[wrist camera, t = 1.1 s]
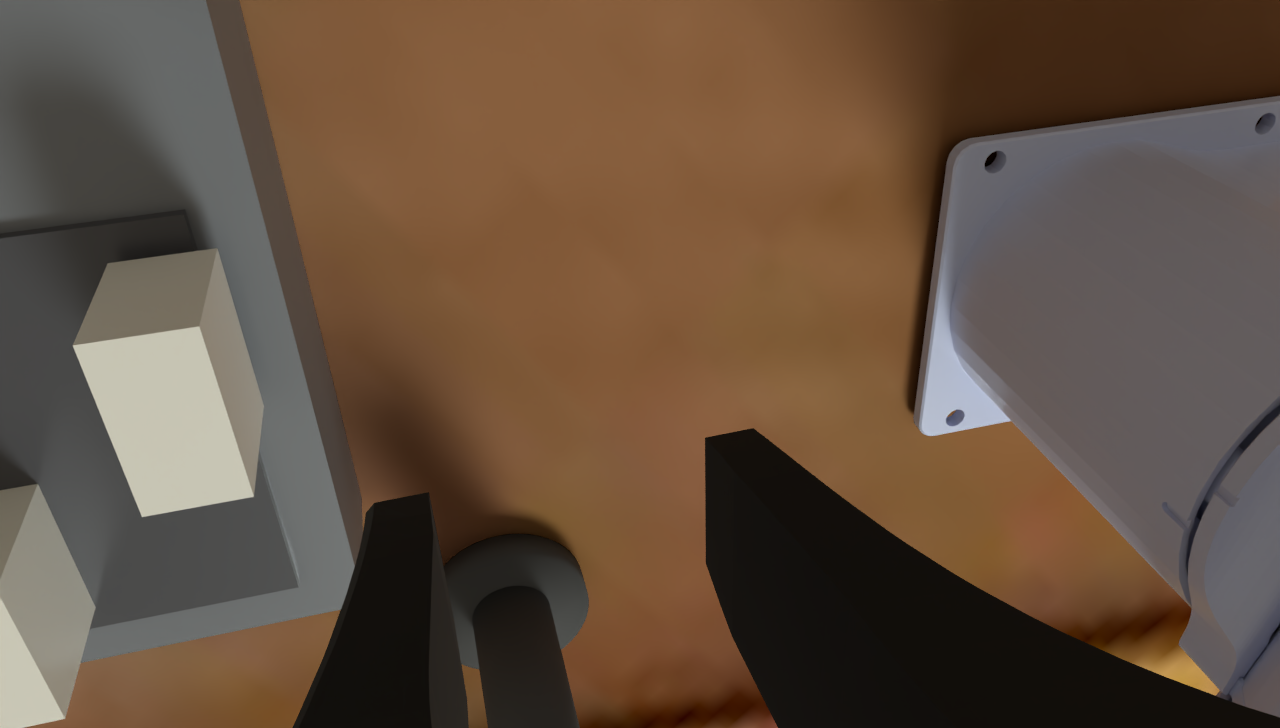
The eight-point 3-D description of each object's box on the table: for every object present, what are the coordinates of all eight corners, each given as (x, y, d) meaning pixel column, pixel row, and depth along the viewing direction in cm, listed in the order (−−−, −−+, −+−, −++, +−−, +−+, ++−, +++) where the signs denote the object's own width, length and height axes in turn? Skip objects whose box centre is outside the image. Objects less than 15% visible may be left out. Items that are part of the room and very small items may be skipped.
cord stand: (576, 520, 26) (644, 748, 20) (587, 630, 28) (651, 864, 22) (418, 551, 25) (442, 797, 19) (441, 661, 27) (469, 912, 22)
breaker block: (195, -175, 16) (129, -128, 11) (361, 497, 24) (368, 712, 19) (-304, -143, 15) (-643, -72, 10) (39, 558, 23) (-50, 807, 17)
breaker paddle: (216, 248, 16) (198, 326, 14) (263, 405, 17) (254, 496, 15) (107, 263, 16) (73, 345, 13) (165, 422, 17) (141, 517, 15)
